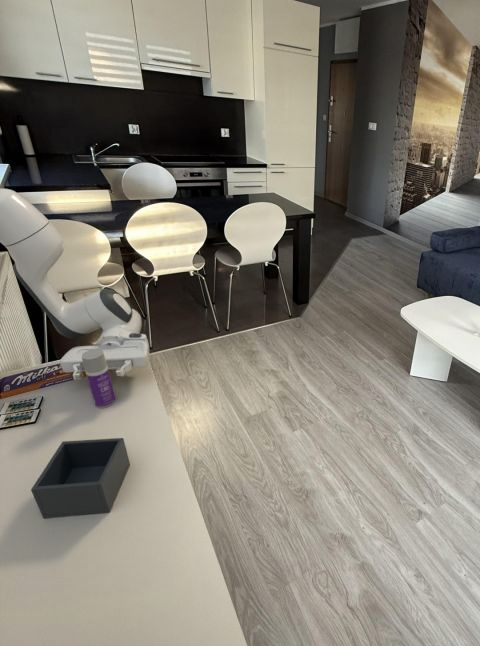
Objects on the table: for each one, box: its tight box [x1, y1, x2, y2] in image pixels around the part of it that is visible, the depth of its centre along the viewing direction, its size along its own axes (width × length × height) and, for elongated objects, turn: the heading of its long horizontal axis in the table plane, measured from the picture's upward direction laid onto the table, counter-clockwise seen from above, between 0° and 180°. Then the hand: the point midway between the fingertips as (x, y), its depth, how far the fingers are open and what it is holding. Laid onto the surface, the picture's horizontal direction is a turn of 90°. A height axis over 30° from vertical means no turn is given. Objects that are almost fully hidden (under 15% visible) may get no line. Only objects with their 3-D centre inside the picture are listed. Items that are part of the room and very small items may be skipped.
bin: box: [30, 437, 131, 519], centre depth 78 cm, size 11×11×8 cm
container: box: [82, 349, 117, 409], centre depth 99 cm, size 5×5×15 cm
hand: (98, 375), depth 99 cm, fingers open, 8 cm apart
